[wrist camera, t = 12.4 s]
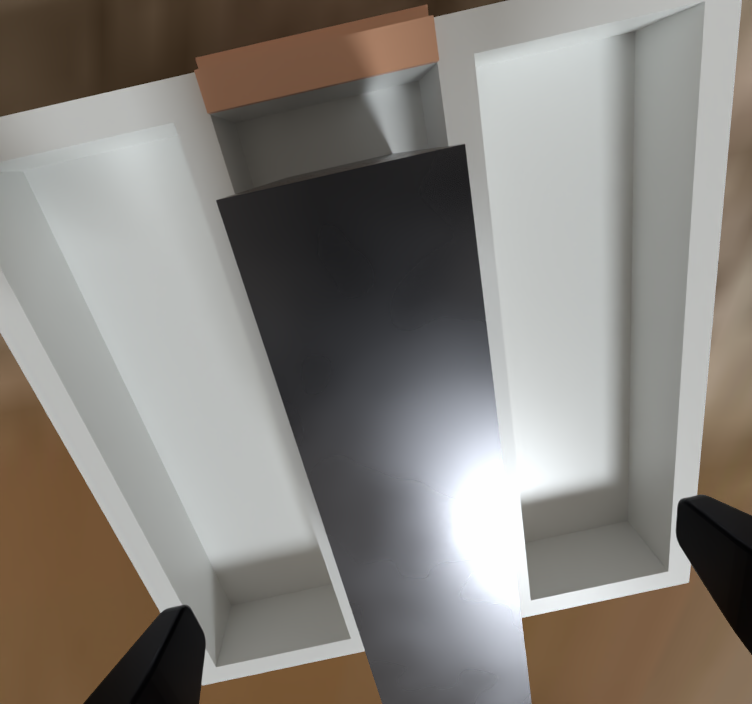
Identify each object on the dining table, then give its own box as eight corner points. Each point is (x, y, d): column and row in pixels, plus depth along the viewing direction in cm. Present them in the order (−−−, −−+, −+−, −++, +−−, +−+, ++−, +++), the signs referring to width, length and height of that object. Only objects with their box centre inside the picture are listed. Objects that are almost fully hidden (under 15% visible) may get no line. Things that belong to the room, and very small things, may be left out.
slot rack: (221, 611, 20) (200, 691, 17) (-15, 134, 12) (-127, 125, 9) (639, 522, 19) (693, 587, 16) (654, -20, 12) (756, -78, 9)
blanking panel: (385, 545, 18) (416, 806, 11) (287, 177, 13) (215, 199, 5) (459, 529, 18) (540, 780, 11) (392, 153, 13) (465, 144, 5)
